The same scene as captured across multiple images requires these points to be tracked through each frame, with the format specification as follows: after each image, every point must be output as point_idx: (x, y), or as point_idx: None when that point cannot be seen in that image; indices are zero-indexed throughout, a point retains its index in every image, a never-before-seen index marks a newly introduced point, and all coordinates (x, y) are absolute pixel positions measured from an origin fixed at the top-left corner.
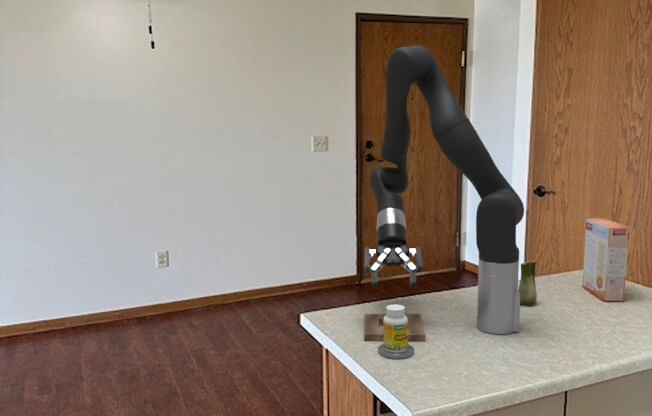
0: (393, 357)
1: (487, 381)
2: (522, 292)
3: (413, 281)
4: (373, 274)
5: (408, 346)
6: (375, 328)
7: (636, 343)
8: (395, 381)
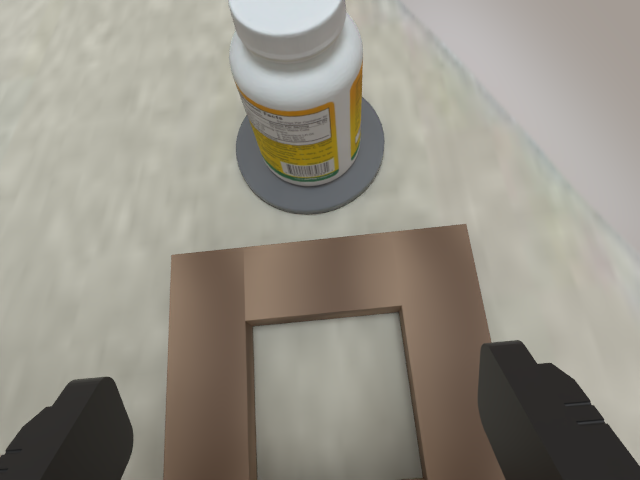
0: None
1: (44, 3)
2: None
3: (63, 392)
4: (606, 461)
5: (258, 172)
6: (423, 312)
7: None
8: None
